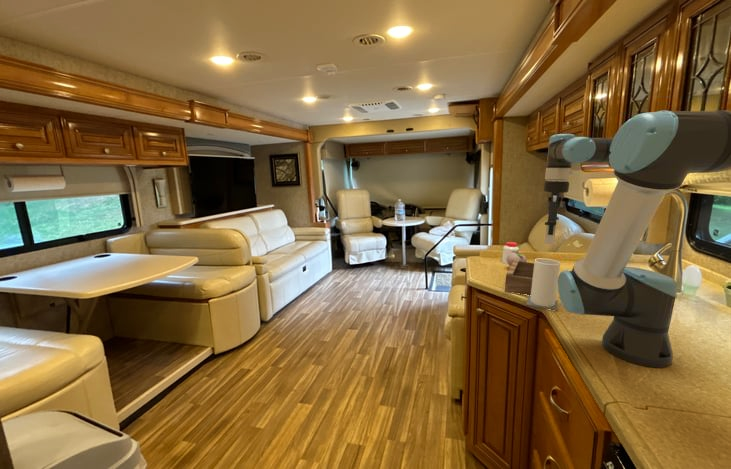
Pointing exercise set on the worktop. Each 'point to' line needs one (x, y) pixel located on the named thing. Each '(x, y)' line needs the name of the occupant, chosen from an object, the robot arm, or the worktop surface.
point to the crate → (519, 283)
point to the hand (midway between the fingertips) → (549, 240)
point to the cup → (544, 282)
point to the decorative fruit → (515, 257)
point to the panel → (541, 306)
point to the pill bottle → (508, 250)
